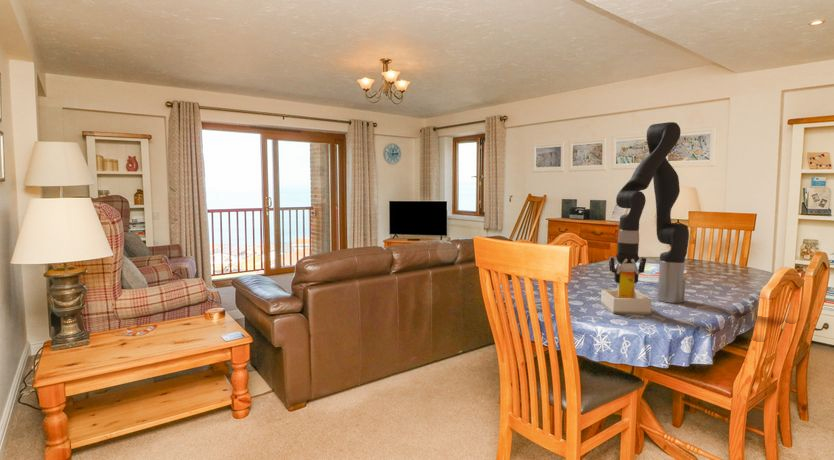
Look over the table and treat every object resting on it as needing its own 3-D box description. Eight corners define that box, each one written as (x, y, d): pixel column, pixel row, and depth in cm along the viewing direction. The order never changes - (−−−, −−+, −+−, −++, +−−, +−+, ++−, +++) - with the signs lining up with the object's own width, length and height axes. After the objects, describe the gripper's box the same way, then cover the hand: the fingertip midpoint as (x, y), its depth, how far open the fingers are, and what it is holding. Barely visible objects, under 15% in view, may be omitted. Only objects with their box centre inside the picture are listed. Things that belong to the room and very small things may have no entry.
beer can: (635, 301, 178) (637, 263, 176) (618, 300, 179) (620, 263, 177) (631, 297, 184) (633, 261, 182) (615, 296, 185) (617, 260, 183)
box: (635, 304, 188) (636, 290, 187) (650, 314, 174) (651, 299, 174) (600, 303, 189) (601, 289, 188) (613, 313, 175) (613, 298, 175)
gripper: (643, 240, 182) (640, 281, 184) (606, 239, 183) (604, 280, 185) (651, 242, 174) (648, 285, 176) (613, 242, 175) (610, 284, 177)
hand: (626, 282), depth 180 cm, fingers closed on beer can, 6 cm apart
